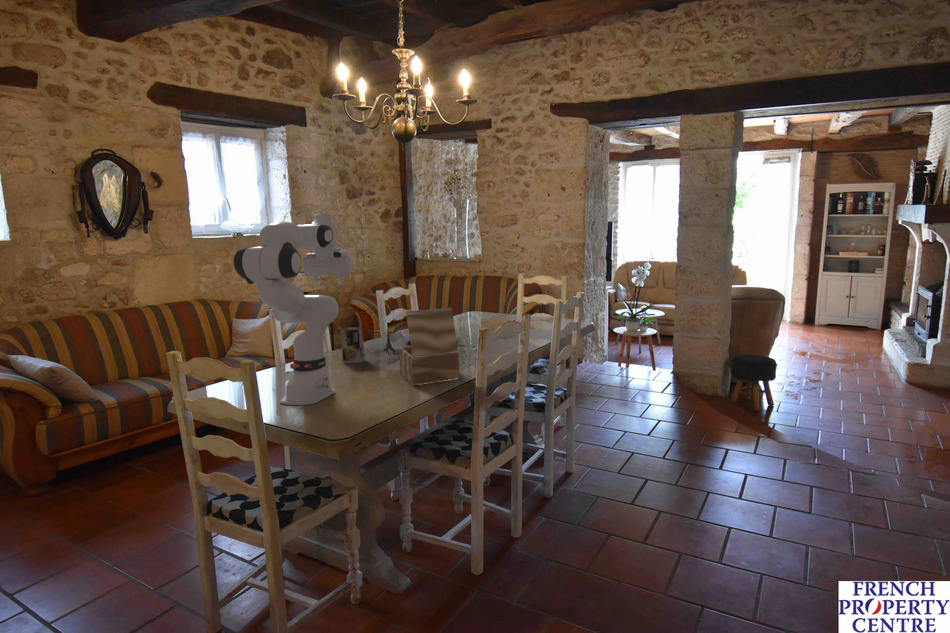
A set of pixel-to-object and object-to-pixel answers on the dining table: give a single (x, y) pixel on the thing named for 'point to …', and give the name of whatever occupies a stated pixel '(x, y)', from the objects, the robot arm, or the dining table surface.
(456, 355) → the carton
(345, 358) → the coffee box
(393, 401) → the dining table surface
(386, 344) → the eiffel tower figurine
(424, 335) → the carton flap
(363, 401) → the dining table surface
